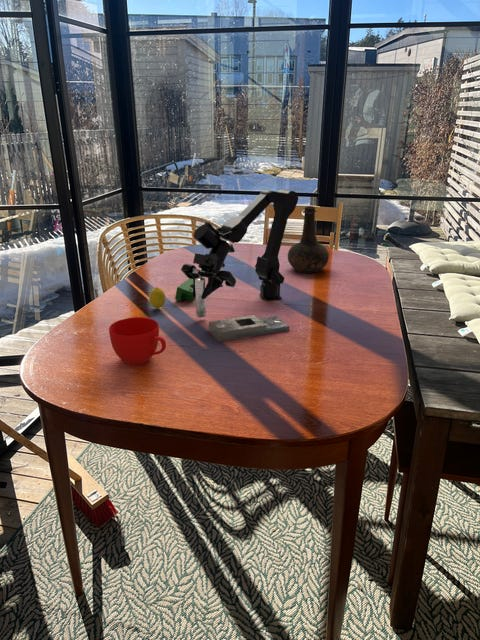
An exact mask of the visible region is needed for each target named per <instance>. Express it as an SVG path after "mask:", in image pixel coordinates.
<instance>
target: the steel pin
mask: <svg viewBox="0 0 480 640" xmlns="http://www.w3.org/2000/svg"><path fill="white" fill-rule="evenodd" d="M205 288H206V277H203V278H196V279H195V295H196V297H195V317H197V318H205V317H206V316H207V307H206V306H207V304H206V303H207V301H206V298H207V297H206V298H205V299H202V298H201V297H202V294H203V292H204V290H205Z"/></svg>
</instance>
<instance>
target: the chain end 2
mask: <svg viewBox="0 0 480 640" xmlns="http://www.w3.org/2000/svg"><path fill="white" fill-rule="evenodd" d="M259 319H260V320H261V321H262V322H263V323H264V324H266V330H261V331H255V332H249V333H242V334H236V339H235V340H238V339H239V338H240V339H245V337H246V338H252V337H257V336H263V335H271V334H276V333H281V332H282V333H283V332H288V331H290V325H289V324H288V323H286V322H285V321H284V320H282V319H281V318H280V317H279V316H277V315H275V316H270V317H269V316H268V317H263V318H259ZM239 325H240V326H247V325H252V324H251V323H244V324H239Z"/></svg>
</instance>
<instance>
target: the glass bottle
mask: <svg viewBox="0 0 480 640" xmlns="http://www.w3.org/2000/svg"><path fill="white" fill-rule="evenodd" d="M316 212H317V210H316V207H315V206H310V205H308V206H307V205H306V206H305V207H304V210H303V211H302V213H303V214H304V218H303V226H302V233H301V238H300V241H299V242H297V243H295V244H292V246H291V247H289V250H288V251H287V252H288V253H287V260H288V263H289V265H290V267H292V268H293V269H294V270H295V271H297V272H300V273H305V274H311V273H318V272H320V271H322V270H323V269H324V268H325V267H326V265H327V264H328V262H329V258H330V254H329V251H328V249H327V248H326V247H325V245H323V244H322V243H319V242H318V240H317V235H316V234H317V233H316V221H315V220H316V219H315V218H316V217H315V216H316Z"/></svg>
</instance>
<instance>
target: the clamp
mask: <svg viewBox="0 0 480 640" xmlns="http://www.w3.org/2000/svg"><path fill="white" fill-rule="evenodd" d="M175 292H176V293H175V296H174V299H175V300H176V301H178V302H182V301H184V300H185V299H186V300H188V301H192V302H194V300H195V297H193V296H192V295H193V279H190V278H188V279H187V280H185V281H183V283H181V284H180V285H178V286H177V287H176V291H175ZM183 299H184V300H183Z"/></svg>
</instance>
